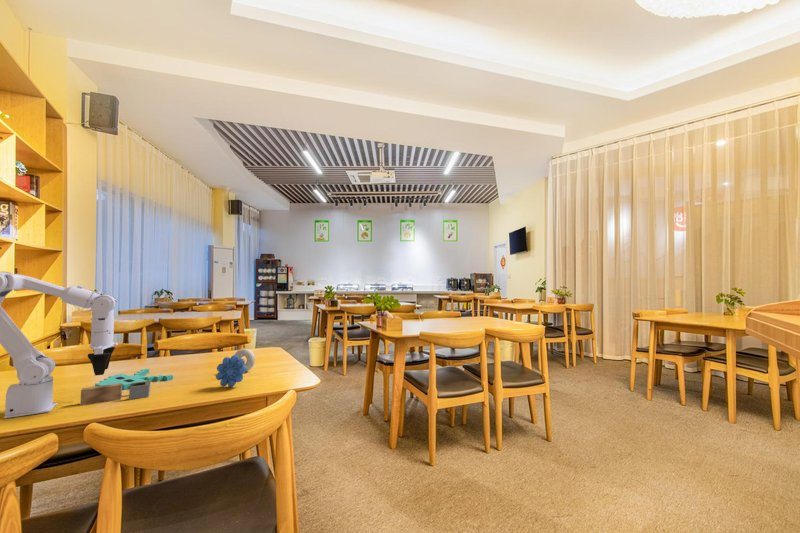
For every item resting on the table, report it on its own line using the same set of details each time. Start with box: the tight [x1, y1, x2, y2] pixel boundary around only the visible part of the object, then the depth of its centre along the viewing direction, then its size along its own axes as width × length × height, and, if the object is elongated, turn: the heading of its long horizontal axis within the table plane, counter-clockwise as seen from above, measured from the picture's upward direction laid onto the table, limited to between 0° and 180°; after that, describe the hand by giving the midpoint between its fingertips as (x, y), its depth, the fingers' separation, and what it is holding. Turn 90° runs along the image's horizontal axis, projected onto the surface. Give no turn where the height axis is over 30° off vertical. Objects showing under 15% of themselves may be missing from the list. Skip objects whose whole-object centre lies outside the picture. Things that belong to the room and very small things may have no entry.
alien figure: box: [94, 368, 174, 391], centre depth 132 cm, size 20×2×20 cm
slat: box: [80, 383, 123, 406], centre depth 112 cm, size 10×2×5 cm, turn 122°
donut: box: [234, 347, 256, 372], centre depth 149 cm, size 10×4×10 cm, turn 81°
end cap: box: [128, 381, 151, 400], centre depth 118 cm, size 5×6×4 cm
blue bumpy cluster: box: [215, 354, 247, 388], centre depth 129 cm, size 12×7×12 cm, turn 87°
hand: (101, 372), depth 113 cm, fingers open, 7 cm apart
